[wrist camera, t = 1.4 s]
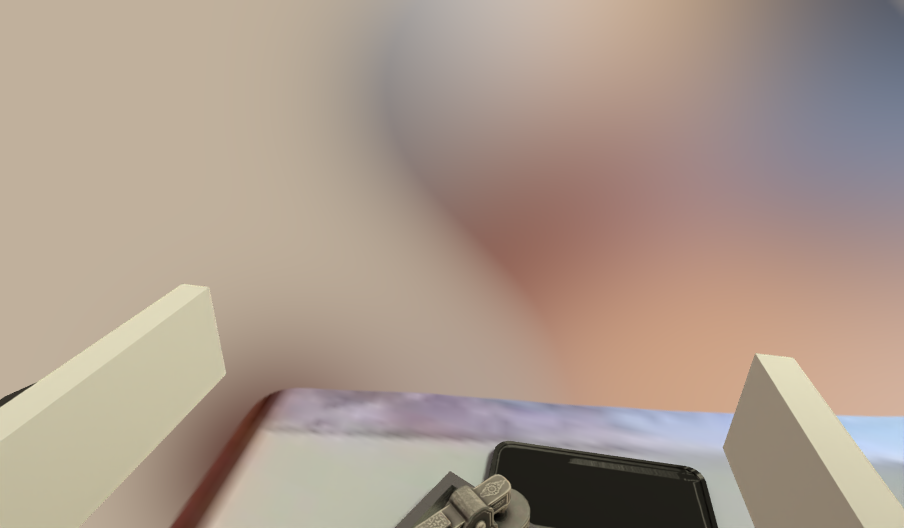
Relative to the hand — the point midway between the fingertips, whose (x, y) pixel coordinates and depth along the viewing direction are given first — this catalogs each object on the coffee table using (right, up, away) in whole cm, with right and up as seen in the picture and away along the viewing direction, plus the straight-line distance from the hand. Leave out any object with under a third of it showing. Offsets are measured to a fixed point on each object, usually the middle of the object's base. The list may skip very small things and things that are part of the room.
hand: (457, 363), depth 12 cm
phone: (+10, -15, +23) cm, 29 cm away
